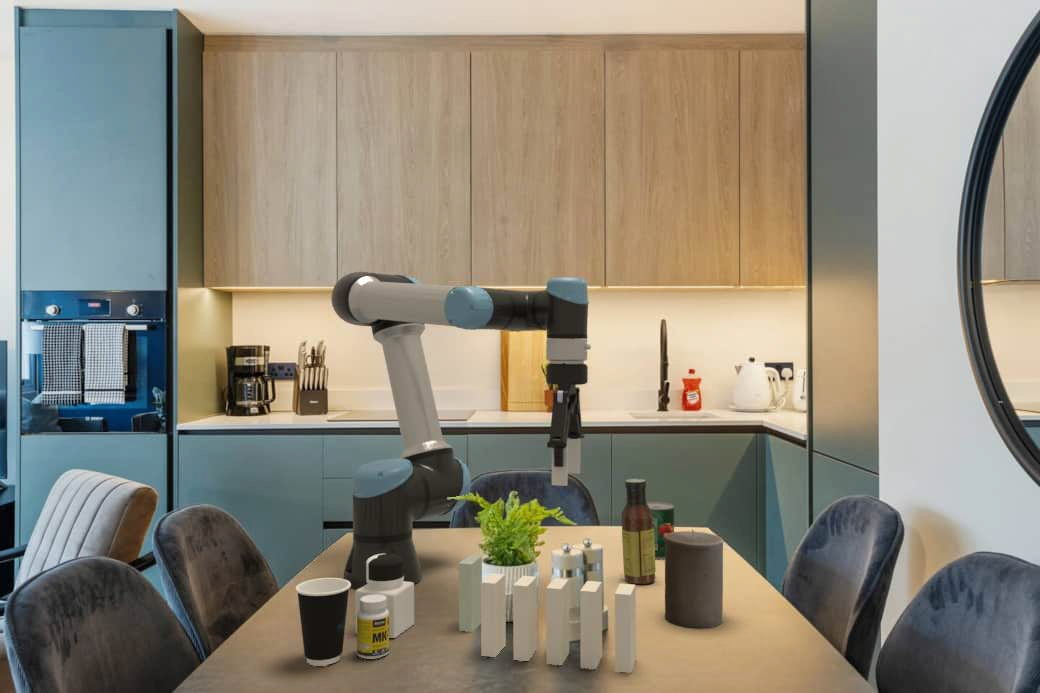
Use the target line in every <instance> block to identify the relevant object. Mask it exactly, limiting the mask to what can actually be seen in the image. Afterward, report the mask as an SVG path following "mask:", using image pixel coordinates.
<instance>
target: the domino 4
mask: <svg viewBox="0 0 1040 693" xmlns="http://www.w3.org/2000/svg"><path fill="white" fill-rule="evenodd" d="M602 597H603V582H602V581H594V580H593V581H592V580H586V582H585V583H584V584H583V586H582V587H581V589H580V590H579V604H580V606H579V607H580V609H579V613H580V614H579V617H580V618H579V619H580V621H579V626H580V627H579V629H580V630H579V631H580V633H579V635H580V641H579V643H580V669H584V668H585V669H586V670H593V669H596V670H597V668H598V666H599V664H600V663H601V660H602V658H603V602H602V601H603V598H602ZM600 659H601V660H600ZM587 668H588V669H587ZM585 669H584V670H585Z"/></svg>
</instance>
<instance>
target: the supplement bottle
mask: <svg viewBox="0 0 1040 693" xmlns="http://www.w3.org/2000/svg"><path fill="white" fill-rule="evenodd" d="M386 607H387V597H386V596H384V595H377V594H374V595H367V596H363V597H362V598H360V609H361V610H360V611H359V612H358V614H357V634H356V654H357V656H359V657H361V658H360V659H362V658H364V659H363V660H366V659H372V658H379V657H382V656H385V655H386V656H388V655H389V653H390V639H389V611H388V610H387V609H386ZM387 654H388V655H387ZM386 656H385V657H386ZM359 657H358V658H359ZM365 658H366V659H365Z"/></svg>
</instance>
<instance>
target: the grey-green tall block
mask: <svg viewBox="0 0 1040 693" xmlns="http://www.w3.org/2000/svg"><path fill="white" fill-rule="evenodd" d="M482 581H483V557H482V556H479V555H468V556H466V557H465V558H464V559H463V560H461V561H459V562H458V632H460V631H465V632H464V633H470V632H472V633H473V632H474V631H475V630H476V629H478V628H479V626H481V582H482Z"/></svg>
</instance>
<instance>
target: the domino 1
mask: <svg viewBox="0 0 1040 693" xmlns="http://www.w3.org/2000/svg"><path fill="white" fill-rule="evenodd" d="M506 598H507V597H506V574H504V573H493V572H492V573H490V574H489V575H488V576H487V577H485V579H482V582H481V624H480V633H481V635H480V637H481V638H480V642H481V643H480V646H481V647H480V651H481V656H490V657H496V656H497V655H498V654H499V653H500V654H501V652H502V651H503V650H504V649H505V648H506V647H505V646H507V644H506V643H507V642H506V641H507V637H506V636H507V635H506V629H507V628H506V627H507V626H506V625H507V623H506V622H507V620H506V616H507V610H506ZM504 647H505V648H504ZM503 648H504V649H503ZM502 649H503V650H502ZM501 650H502V651H501ZM500 651H501V652H500ZM500 654H499V655H500ZM499 655H498V656H499ZM481 656H480V657H481ZM498 656H497V657H498ZM497 657H496V658H497Z"/></svg>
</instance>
